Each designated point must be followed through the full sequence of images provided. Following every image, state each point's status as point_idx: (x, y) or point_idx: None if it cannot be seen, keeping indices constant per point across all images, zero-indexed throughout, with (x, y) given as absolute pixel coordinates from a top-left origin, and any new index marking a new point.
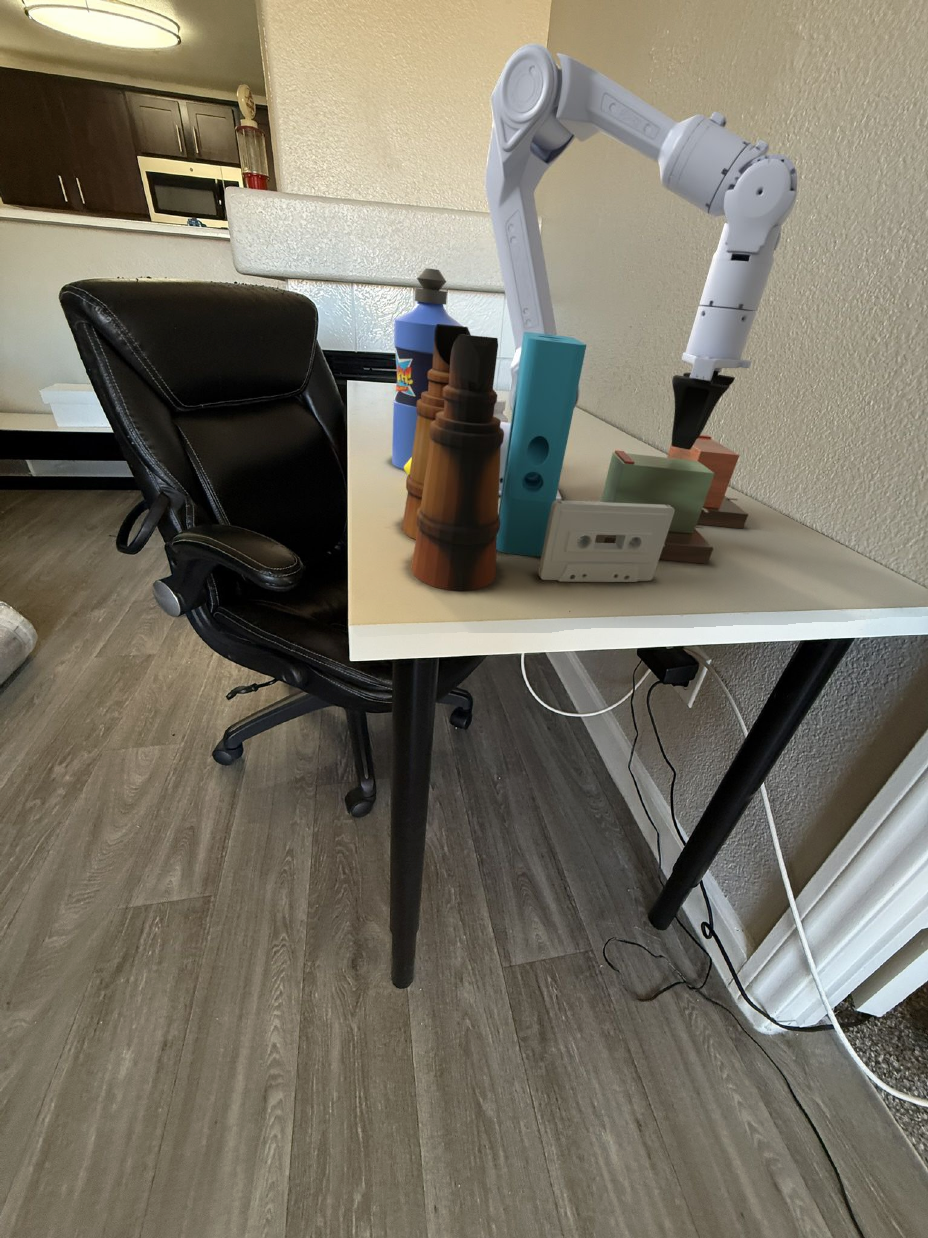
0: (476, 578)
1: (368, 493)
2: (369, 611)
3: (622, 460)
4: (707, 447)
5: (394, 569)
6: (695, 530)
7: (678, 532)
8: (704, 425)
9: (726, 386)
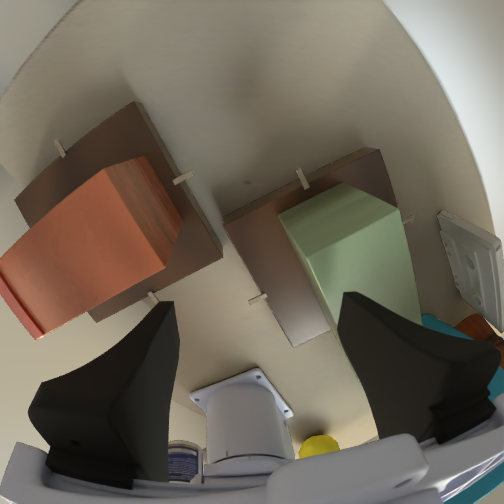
0: (485, 320)
1: (351, 445)
2: (500, 335)
3: None
4: (98, 259)
5: None
6: (321, 179)
7: None
8: (164, 317)
9: (487, 359)
